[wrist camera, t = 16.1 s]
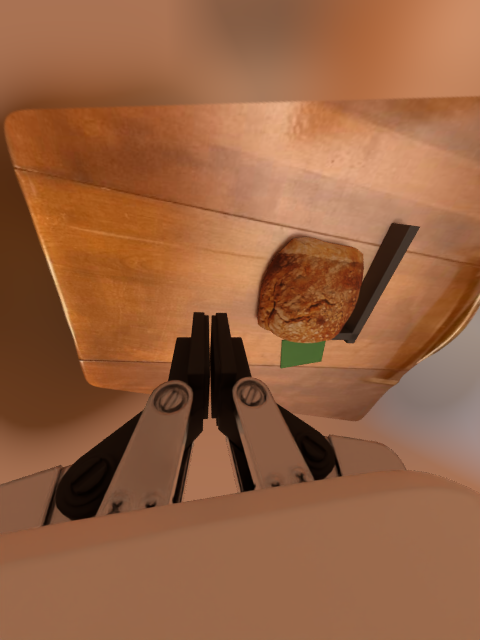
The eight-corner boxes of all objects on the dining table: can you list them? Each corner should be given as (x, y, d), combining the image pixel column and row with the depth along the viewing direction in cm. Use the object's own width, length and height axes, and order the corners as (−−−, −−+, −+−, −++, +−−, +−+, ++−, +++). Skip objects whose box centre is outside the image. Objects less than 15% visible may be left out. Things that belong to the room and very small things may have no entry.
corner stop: (316, 210, 32) (328, 212, 29) (400, 224, 36) (420, 226, 32) (280, 332, 46) (285, 342, 42) (344, 333, 49) (353, 343, 46)
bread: (252, 318, 42) (263, 346, 34) (270, 230, 33) (291, 240, 25) (331, 321, 46) (359, 347, 38) (367, 244, 37) (414, 256, 29)
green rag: (281, 340, 47) (282, 340, 47) (326, 332, 48) (327, 333, 48) (280, 367, 53) (280, 368, 52) (320, 360, 54) (321, 361, 53)
